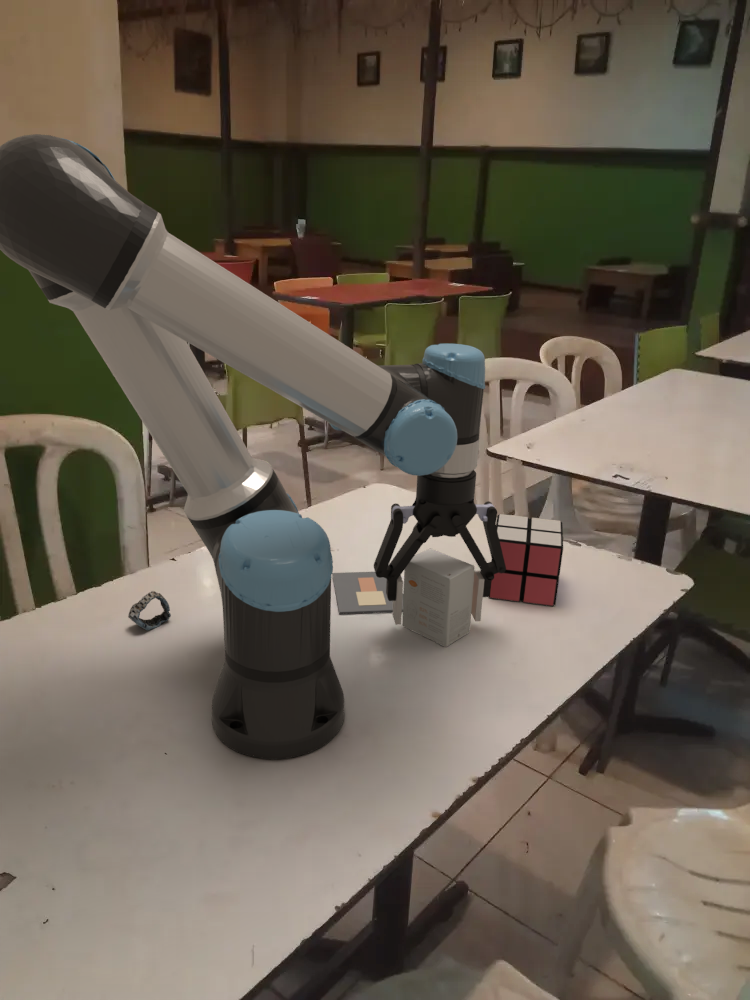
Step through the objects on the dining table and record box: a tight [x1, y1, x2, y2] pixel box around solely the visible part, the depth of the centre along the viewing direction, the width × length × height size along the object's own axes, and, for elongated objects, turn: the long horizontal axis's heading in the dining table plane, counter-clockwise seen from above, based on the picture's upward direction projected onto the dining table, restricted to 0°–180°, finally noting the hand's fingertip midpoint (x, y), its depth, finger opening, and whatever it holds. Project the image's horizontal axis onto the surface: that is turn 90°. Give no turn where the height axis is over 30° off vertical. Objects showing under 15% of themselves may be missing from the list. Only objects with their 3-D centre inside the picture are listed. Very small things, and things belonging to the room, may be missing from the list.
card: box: [331, 571, 403, 615], centre depth 118 cm, size 10×12×1 cm
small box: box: [401, 548, 476, 648], centre depth 107 cm, size 8×6×10 cm
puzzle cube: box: [487, 513, 564, 607], centre depth 119 cm, size 10×10×10 cm
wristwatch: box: [128, 590, 172, 632], centre depth 107 cm, size 3×5×5 cm
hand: (436, 617), depth 108 cm, fingers open, 10 cm apart
